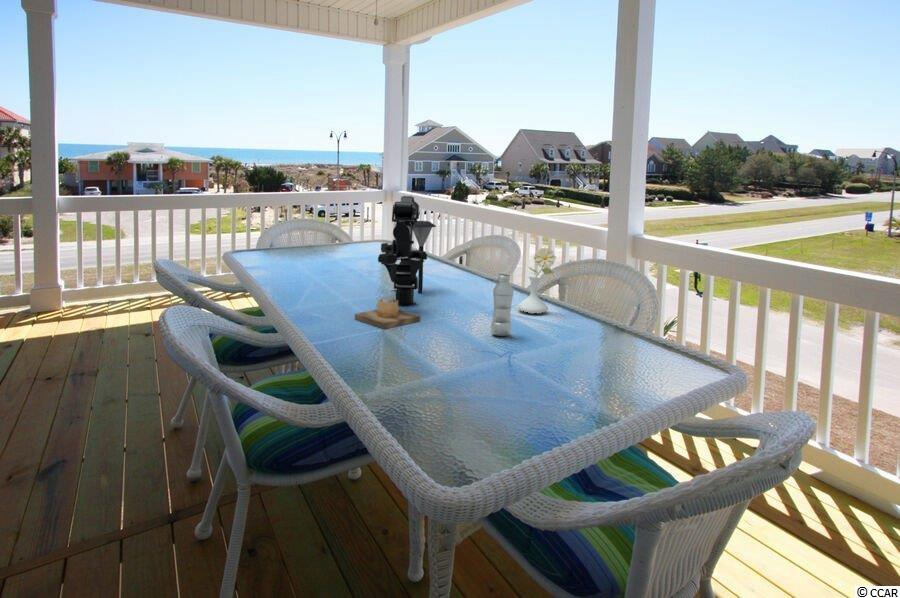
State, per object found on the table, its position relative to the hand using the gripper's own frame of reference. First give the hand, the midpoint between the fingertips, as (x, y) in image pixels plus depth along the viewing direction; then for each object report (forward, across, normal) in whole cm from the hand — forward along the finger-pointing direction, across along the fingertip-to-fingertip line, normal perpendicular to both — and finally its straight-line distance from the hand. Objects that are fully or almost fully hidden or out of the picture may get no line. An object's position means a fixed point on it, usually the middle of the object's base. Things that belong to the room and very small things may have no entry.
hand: (402, 280), depth 218 cm
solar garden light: (+12, -28, -21) cm, 37 cm away
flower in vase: (+12, -40, +30) cm, 51 cm away
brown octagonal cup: (+10, +11, +5) cm, 16 cm away
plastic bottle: (+12, -6, +42) cm, 44 cm away
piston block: (+12, +11, +5) cm, 17 cm away
